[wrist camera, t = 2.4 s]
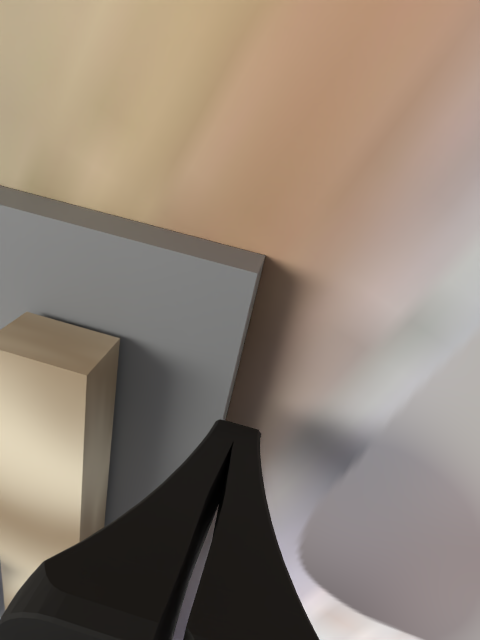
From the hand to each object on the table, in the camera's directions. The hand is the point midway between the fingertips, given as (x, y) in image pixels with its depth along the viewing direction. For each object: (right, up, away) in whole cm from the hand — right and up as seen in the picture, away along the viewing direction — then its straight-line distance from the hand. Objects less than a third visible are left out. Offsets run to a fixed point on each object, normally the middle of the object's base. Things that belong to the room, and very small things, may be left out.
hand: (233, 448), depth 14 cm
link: (-6, -3, +4) cm, 8 cm away
